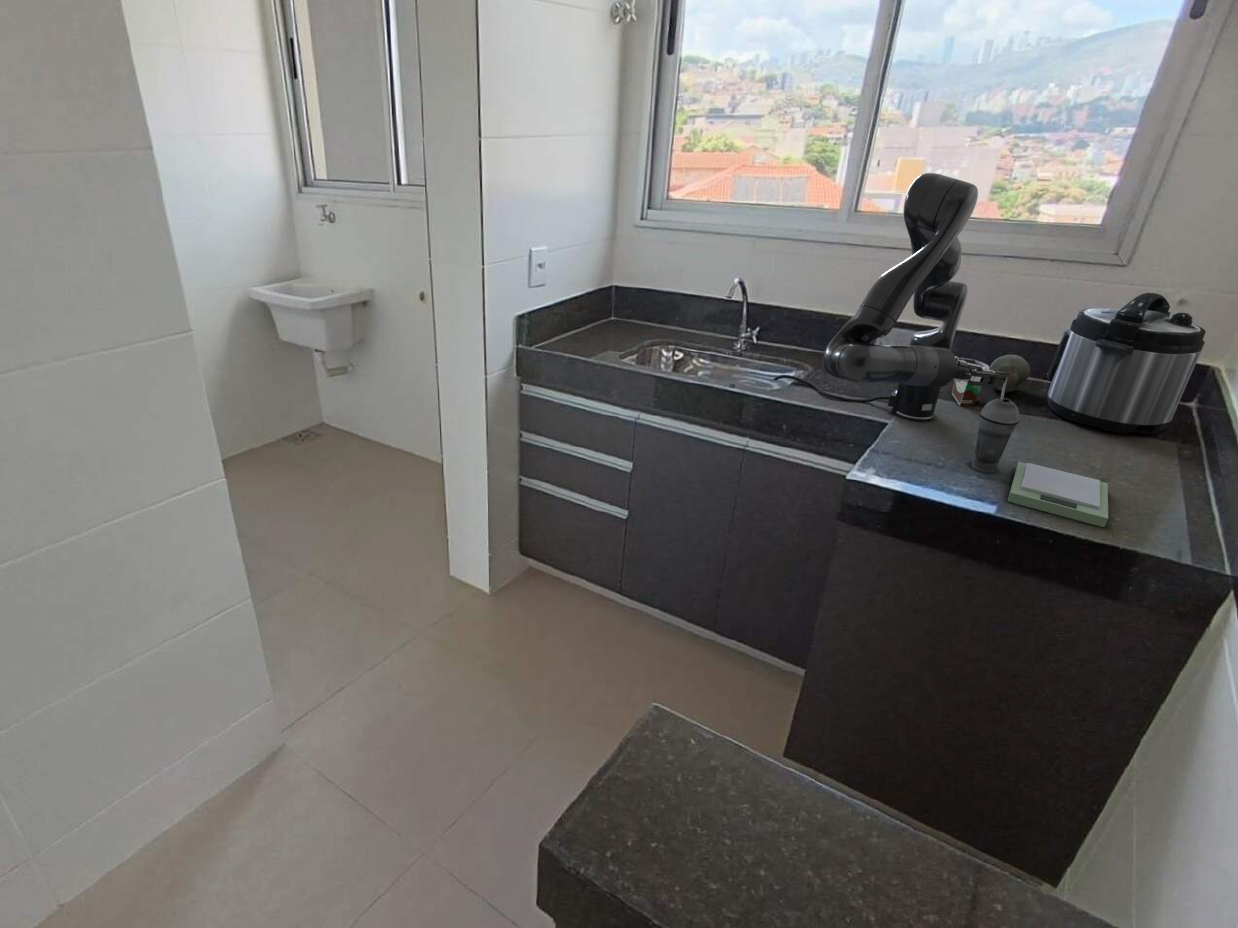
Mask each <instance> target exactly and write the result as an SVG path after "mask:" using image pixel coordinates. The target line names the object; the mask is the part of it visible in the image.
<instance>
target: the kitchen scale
mask: <svg viewBox="0 0 1238 928" xmlns="http://www.w3.org/2000/svg"><path fill="white" fill-rule="evenodd" d="M1108 487H1109V483H1108V482H1104V481H1101V480H1100V479H1096V478H1092V477H1087V476H1085V475H1080V474H1076V473H1071V472H1067V471H1063V470H1059V469H1054V468H1051V467H1047V466H1043V465H1040V464H1039V465H1038V464H1035V463H1031V462H1023V461H1018V462H1017V465H1016V467H1015V472H1014V475H1013V479H1012V482H1011V487H1010V490H1009V494H1008V498H1007V502H1009V503H1012V504H1016V505H1020V506H1024V507H1027V508H1030V509H1034V510H1038V511H1042V512H1045V513H1049V514H1053V515H1056V516H1060V517H1063V518H1068V519H1070V520H1074V521H1078V522H1081V523H1085V524H1089V525H1093V526H1096V527H1101V528H1105V527H1106V525H1107V522H1108V520H1109V490H1108V489H1109V488H1108Z"/></svg>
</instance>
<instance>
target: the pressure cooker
mask: <svg viewBox="0 0 1238 928" xmlns="http://www.w3.org/2000/svg"><path fill="white" fill-rule="evenodd" d="M1170 309H1171V306H1170V303H1169V301H1168V300H1167V299H1166V297H1165V296H1164V295H1162V294H1160V293H1157V292H1144V293H1141V294H1139V295H1137V296H1136V297H1134V298H1132V299H1131V300H1130V301H1129V302H1128V303H1126V304H1125V305H1124V306H1123V307H1122V308H1104V307H1103V308H1101V307H1100V308H1099V307H1098V308H1093V307H1092V308H1083V309H1081V310H1079V311H1078V313H1077V316H1076V318H1075V319H1073V320H1072V322H1071V325H1070V328H1069V329H1067V330H1065V331H1064V332H1063V334H1062V337H1061V339H1060V341H1059V344H1058V346H1057V349H1056V351H1055V354H1054V356H1053V357H1052V361H1051V363H1050V365H1049V368H1048V371H1047V373H1046V376H1047V382H1050V385H1049V388H1048V391H1047V395H1046V402H1047V404H1048V408H1050V410H1052V411H1053V412H1054V413H1056V414H1057V415H1059V416H1061V417H1063V418H1065V419H1067V420H1069V421H1072V422H1075V423H1077V424H1080V425H1088V426H1091V427H1095V428H1098V429H1101V430H1104V431H1109V432H1114V433H1119V434H1130V433H1131V432H1133V433H1137V434H1147V435H1151V434H1152V435H1153V434H1157V433H1160V432H1162V431H1163V430H1165V428H1167V427H1168V426H1169V425H1170V424H1171V422H1172V420H1173V418H1174V416H1175V413H1176V411H1177V408H1178V406H1179V404H1180V402H1181V399H1182V397H1183V395H1184V393H1185V391H1186V388H1187V385H1188V383H1189V380H1190V378H1191V376H1192V374H1193V372H1194V370H1195V367H1196V365H1197V363H1198V360H1199V358H1200V356H1201V353H1202V351H1203V348H1204V345H1205V341H1204V338H1205V335H1206V333H1207V331H1206V329H1204V328H1203V327H1201V326H1199V325H1196V324H1194V323H1193V320H1194V318H1193V316H1192V315H1191V314H1190V313H1188V312H1177V313H1174V314H1172V316H1171V317H1170V315H1171V311H1170Z"/></svg>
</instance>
